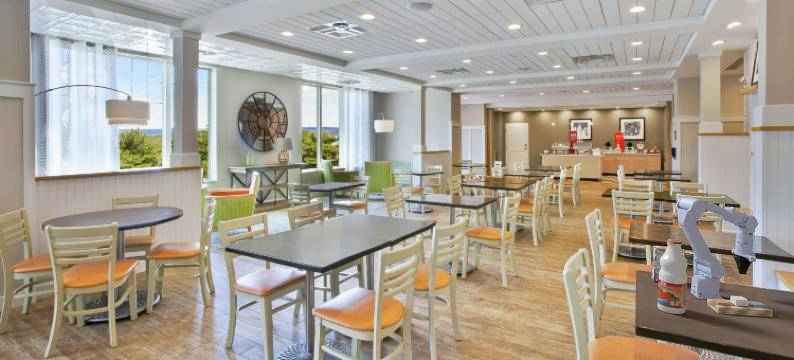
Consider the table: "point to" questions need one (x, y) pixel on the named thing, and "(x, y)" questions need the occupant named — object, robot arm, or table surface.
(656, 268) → the candy bar box
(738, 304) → the off-white key
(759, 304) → the slate blue key
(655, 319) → the table surface
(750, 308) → the light wood flat board
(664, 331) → the table surface
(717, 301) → the terracotta key
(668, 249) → the fruit juice
